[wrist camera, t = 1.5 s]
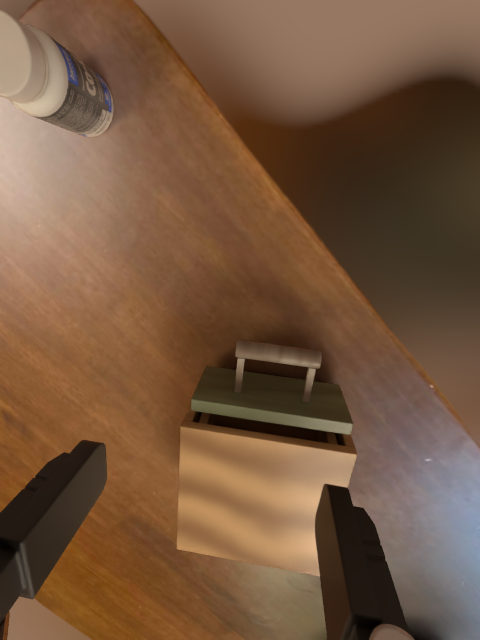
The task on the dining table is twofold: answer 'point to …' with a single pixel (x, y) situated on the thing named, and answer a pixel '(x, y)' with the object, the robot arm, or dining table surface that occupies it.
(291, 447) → the cabinet
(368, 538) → the robot arm
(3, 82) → the pill bottle
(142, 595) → the dining table surface
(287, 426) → the drawer
